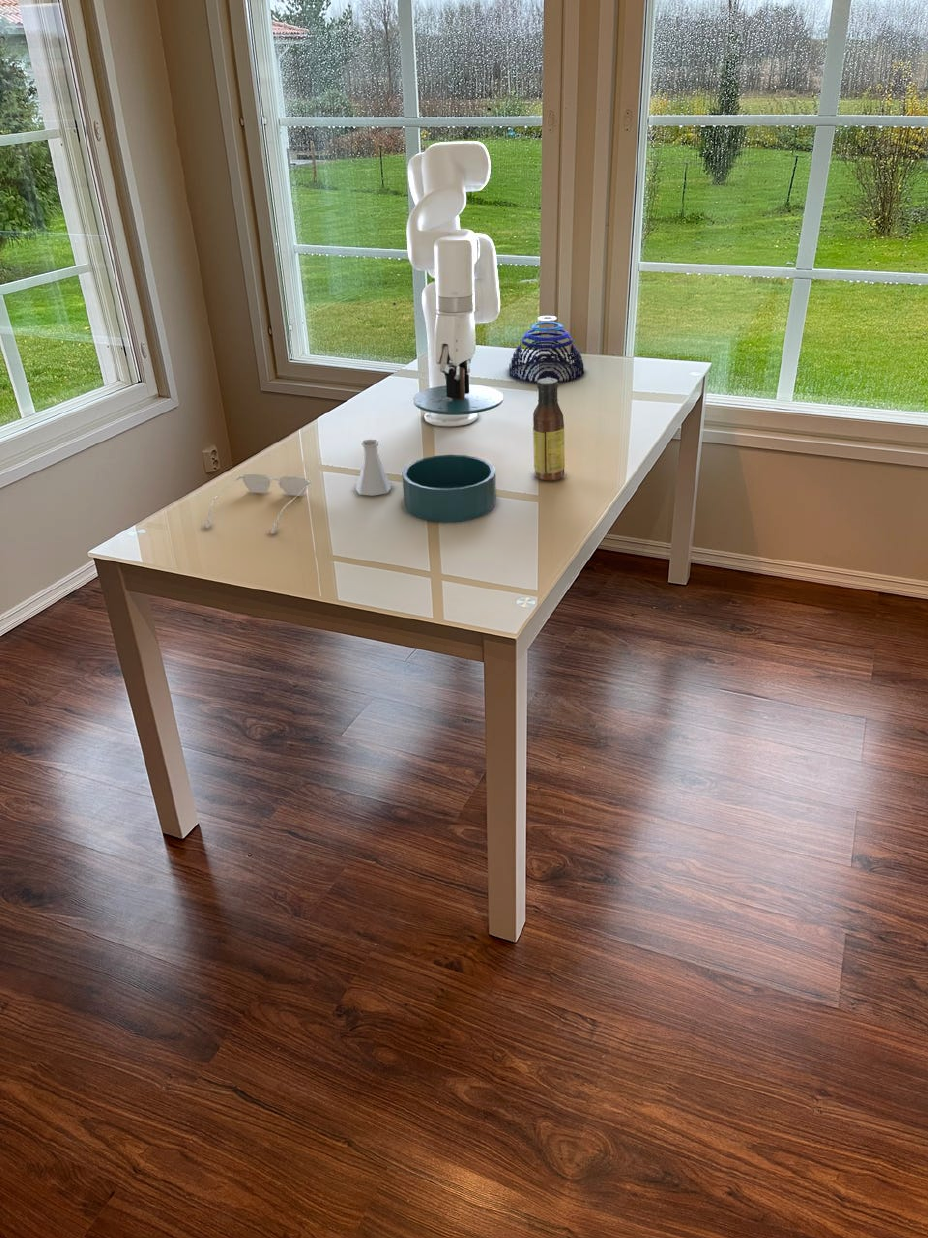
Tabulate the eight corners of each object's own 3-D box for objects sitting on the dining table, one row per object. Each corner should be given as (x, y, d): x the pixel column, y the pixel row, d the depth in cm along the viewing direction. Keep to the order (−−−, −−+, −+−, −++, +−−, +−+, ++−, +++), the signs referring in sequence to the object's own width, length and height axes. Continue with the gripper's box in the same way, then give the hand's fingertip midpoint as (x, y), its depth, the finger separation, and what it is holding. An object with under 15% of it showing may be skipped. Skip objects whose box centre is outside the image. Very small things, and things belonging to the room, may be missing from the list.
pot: (385, 503, 184) (383, 472, 181) (451, 478, 195) (450, 448, 191) (447, 530, 173) (446, 497, 170) (513, 501, 183) (514, 470, 180)
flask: (355, 483, 193) (351, 436, 188) (391, 481, 194) (388, 434, 189) (355, 497, 187) (351, 449, 182) (392, 495, 188) (388, 447, 182)
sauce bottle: (567, 472, 196) (570, 376, 185) (560, 483, 191) (562, 386, 180) (536, 468, 198) (538, 374, 187) (528, 480, 193) (529, 383, 182)
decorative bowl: (587, 382, 248) (589, 326, 240) (510, 384, 248) (510, 328, 241) (580, 361, 265) (582, 308, 257) (508, 362, 265) (508, 310, 258)
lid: (395, 404, 197) (393, 369, 193) (460, 384, 208) (459, 351, 204) (456, 424, 185) (455, 387, 182) (521, 401, 196) (521, 367, 193)
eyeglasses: (313, 495, 189) (311, 477, 186) (278, 535, 173) (275, 515, 171) (241, 490, 192) (238, 472, 190) (201, 528, 177) (197, 509, 175)
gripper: (456, 293, 194) (459, 382, 204) (418, 311, 182) (423, 404, 191) (490, 296, 191) (491, 386, 201) (453, 314, 179) (456, 409, 188)
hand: (458, 394), depth 196 cm, fingers closed on lid, 2 cm apart
